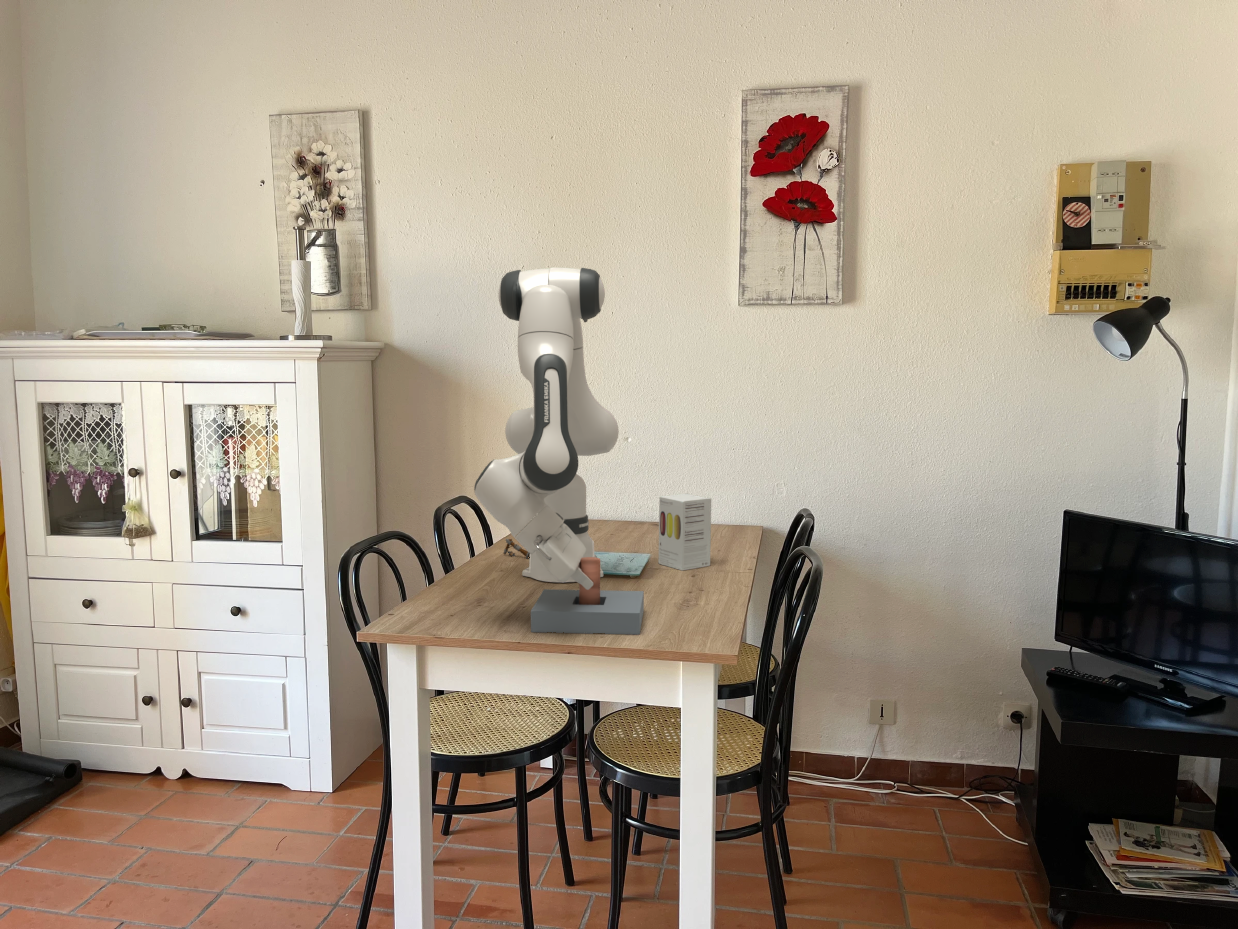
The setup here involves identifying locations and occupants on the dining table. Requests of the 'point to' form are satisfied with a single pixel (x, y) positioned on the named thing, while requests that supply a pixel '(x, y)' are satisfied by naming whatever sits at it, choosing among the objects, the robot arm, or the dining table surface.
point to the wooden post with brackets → (517, 547)
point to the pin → (592, 569)
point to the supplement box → (684, 531)
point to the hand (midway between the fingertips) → (592, 583)
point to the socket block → (588, 612)
